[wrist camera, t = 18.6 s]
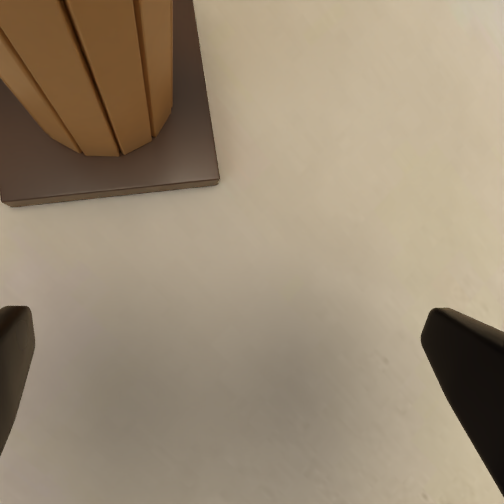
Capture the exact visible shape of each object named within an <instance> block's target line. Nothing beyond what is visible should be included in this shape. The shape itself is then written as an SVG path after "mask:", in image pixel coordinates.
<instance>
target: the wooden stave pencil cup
mask: <svg viewBox="0 0 504 504" xmlns="http://www.w3.org/2000/svg"><path fill="white" fill-rule="evenodd" d="M0 78H1V79H2V81H3V82H4V83H5V84H6V85H7V87H8V88H9V89H10V90H11V92H12V93H13V94H14V95H15V96H16V98H17V99H18V100H19V101H20V102H21V104H22V105H23V106H24V107H25V109H26V110H27V111H28V112H29V113H30V115H31V116H32V117H33V118H34V120H35V121H36V122H37V123H38V124H39V126H40V127H41V128H42V129H43V131H44V132H45V133H46V134H48V135H49V136H50V137H51V138H52V139H54V140H56V141H57V142H59V143H61V144H63V145H65V146H66V147H68V148H70V149H72V150H74V151H75V152H77V153H81V152H82V151H83V153H84V154H85V155H86V156H116V157H119V156H120V150H121V152H122V153H123V154H124V155H126V154H128V153H130V152H131V151H133V150H135V149H137V148H139V147H141V146H143V145H145V144H147V143H149V142H151V141H152V136H153V137H155V138H156V137H157V135H158V133H159V132H160V130H161V129H162V127H163V125H164V124H165V122H166V120H167V119H168V117H169V115H170V114H171V108H172V106H173V0H0ZM151 135H152V136H151Z"/></svg>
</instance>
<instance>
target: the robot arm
mask: <svg viewBox="0 0 504 504" xmlns="http://www.w3.org/2000/svg"><path fill="white" fill-rule="evenodd" d="M421 344H422V347H423V349H424V351H425V353H426V355H427V358H428V360H429V362H430V364H431V366H432V368H433V371H434V373H435V375H436V377H437V379H438V381H439V384H440V386H441V388H442V390H443V392H444V394H445V396H446V398H447V400H448V402H449V404H450V406H451V407H452V409H453V411H454V413H455V414H456V416H457V418H458V419H459V421H460V423H461V425H462V426H463V428H464V430H465V431H466V433H467V435H468V437H469V438H470V440H471V442H472V443H473V445H474V447H475V449H476V450H477V452H478V454H479V456H480V457H481V459H482V461H483V462H484V464H485V466H486V468H487V469H488V471H489V473H490V474H491V476H492V478H493V480H494V481H495V483H496V485H497V486H498V488H499V490H500V492H501V493H502V495H503V497H504V332H502V331H500V330H498V329H496V328H493V327H491V326H489V325H487V324H484V323H482V322H480V321H478V320H475V319H473V318H471V317H469V316H466V315H464V314H462V313H460V312H457V311H455V310H453V309H450V308H434V309H432V310H431V311H430V313H429V315H428V318H427V320H426V323H425V326H424V328H423V331H422V334H421ZM34 349H35V336H34V328H33V320H32V313H31V310H30V308H29V307H27V306H5V307H3V308H2V309H0V456H1V453H2V451H3V449H4V446H5V444H6V441H7V439H8V436H9V434H10V431H11V429H12V426H13V424H14V421H15V418H16V414H17V411H18V408H19V404H20V401H21V397H22V393H23V390H24V386H25V382H26V379H27V375H28V372H29V368H30V364H31V361H32V357H33V354H34Z"/></svg>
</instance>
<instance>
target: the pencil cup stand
mask: <svg viewBox="0 0 504 504" xmlns="http://www.w3.org/2000/svg"><path fill="white" fill-rule="evenodd" d="M151 136H152V135H151ZM219 179H220V176H219V169H218V163H217V156H216V150H215V143H214V137H213V130H212V124H211V117H210V111H209V104H208V98H207V91H206V85H205V78H204V72H203V65H202V58H201V52H200V45H199V39H198V32H197V26H196V19H195V13H194V6H193V0H173V106H172V108H171V114H170V115H169V117H168V119H167V120H166V122H165V124H164V125H163V127H162V129H161V130H160V132H159V133H158V135H157V137H156V138H155V137H153V136H152V141H151V142H149V143H147V144H145V145H143V146H141V147H139V148H137V149H135V150H133V151H131V152H130V153H128V154H126V155H124V154H123V153H122V152H121V150H120V156H119V157H116V156H86V155H85V154H84V153H83V151H82V152H81V153H77V152H75V151H74V150H72V149H70V148H68V147H66V146H65V145H63V144H61V143H59V142H57V141H56V140H54V139H52V138H51V137H50V136H49V135H48V134H46V133H45V132H44V131H43V129H42V128H41V127H40V126H39V124H38V123H37V122H36V121H35V120H34V118H33V117H32V116H31V115H30V113H29V112H28V111H27V110H26V109H25V107H24V106H23V105H22V104H21V102H20V101H19V100H18V99H17V98H16V96H15V95H14V94H13V93H12V92H11V90H10V89H9V88H8V87H7V85H6V84H5V83H4V82H3V81H2V79H1V78H0V196H1V202H2V203H4V204H6V205H8V206H10V207H18V206H27V205H37V204H46V203H55V202H64V201H74V200H83V199H92V198H101V197H111V196H120V195H129V194H138V193H148V192H157V191H166V190H176V189H185V188H194V187H203V186H213V185H217V184H218V182H219Z"/></svg>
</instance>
